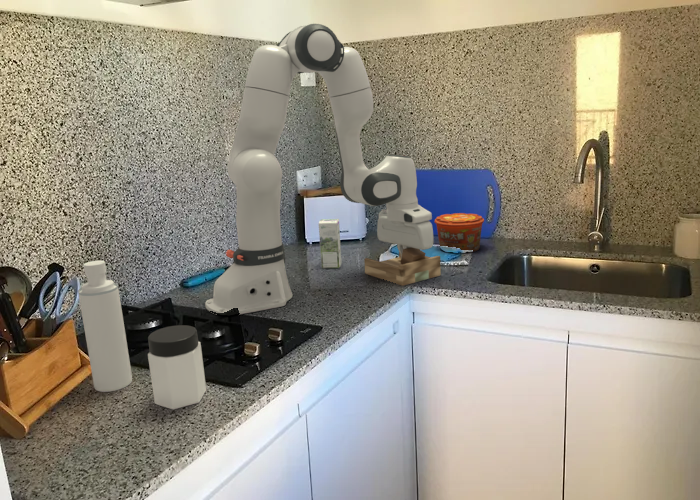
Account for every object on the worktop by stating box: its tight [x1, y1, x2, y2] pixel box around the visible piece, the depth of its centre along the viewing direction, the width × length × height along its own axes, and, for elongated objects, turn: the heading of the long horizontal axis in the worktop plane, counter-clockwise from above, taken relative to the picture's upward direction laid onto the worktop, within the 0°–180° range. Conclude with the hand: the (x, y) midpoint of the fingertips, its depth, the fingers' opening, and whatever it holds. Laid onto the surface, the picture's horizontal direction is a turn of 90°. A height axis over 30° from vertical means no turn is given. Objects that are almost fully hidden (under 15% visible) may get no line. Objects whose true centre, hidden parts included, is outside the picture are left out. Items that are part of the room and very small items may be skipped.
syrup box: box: [318, 218, 342, 269], centre depth 184 cm, size 6×6×14 cm
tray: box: [363, 251, 442, 286], centre depth 172 cm, size 14×17×6 cm
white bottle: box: [77, 259, 133, 393], centre depth 109 cm, size 7×7×25 cm
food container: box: [433, 212, 485, 253], centre depth 197 cm, size 16×16×11 cm
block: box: [401, 247, 426, 264], centre depth 168 cm, size 4×4×4 cm
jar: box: [147, 324, 207, 411], centre depth 104 cm, size 9×8×12 cm
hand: (405, 259), depth 172 cm, fingers closed
